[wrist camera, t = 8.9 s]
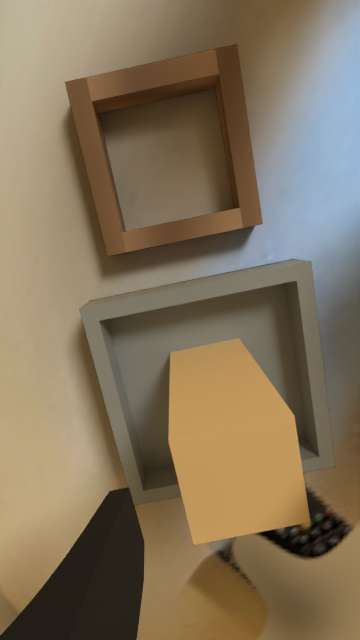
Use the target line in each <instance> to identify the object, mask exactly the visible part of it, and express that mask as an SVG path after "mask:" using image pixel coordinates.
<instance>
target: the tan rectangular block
mask: <svg viewBox="0 0 360 640" xmlns="http://www.w3.org/2000/svg"><path fill="white" fill-rule="evenodd" d="M168 441H169V445H170V450H171V454H172V458H173V462H174V466H175V470H176V474H177V478H178V483H179V487H180V491H181V495H182V499H183V503H184V507H185V511H186V516H187V520H188V524H189V528H190V532H191V536H192V540H193V544H194V545H196V544H201V543H206V542H211V541H216V540H221V539H227V538H232V537H237V536H242V535H247V534H252V533H257V532H263V531H268V530H273V529H278V528H283V527H288V526H293V525H298V524H304V523H309V522H310V516H309V510H308V503H307V496H306V490H305V483H304V476H303V470H302V463H301V456H300V450H299V443H298V436H297V430H296V423H295V416H294V414H293V413H292V411H291V410H290V409H289V407H288V406H287V404H286V403H285V402H284V400H283V399H282V397H281V396H280V395H279V393H278V392H277V390H276V389H275V388H274V386H273V385H272V383H271V382H270V381H269V379H268V378H267V376H266V375H265V374H264V372H263V371H262V369H261V368H260V367H259V365H258V364H257V362H256V361H255V360H254V358H253V357H252V356H251V354H250V353H249V351H248V350H247V349H246V347H245V346H244V344H243V343H242V342H241V340H240V339H239V338H238V339H233V340H228V341H223V342H218V343H214V344H209V345H204V346H199V347H194V348H190V349H185V350H180V351H175V352H170V385H169V436H168Z"/></svg>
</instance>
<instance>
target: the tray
mask: <svg viewBox="0 0 360 640" xmlns="http://www.w3.org/2000/svg"><path fill="white" fill-rule="evenodd" d="M79 310H80V314H81V317H82V321H83V325H84V328H85V332H86V336H87V339H88V343H89V347H90V350H91V354H92V358H93V361H94V365H95V369H96V372H97V376H98V380H99V383H100V387H101V391H102V394H103V398H104V402H105V406H106V409H107V413H108V417H109V420H110V424H111V428H112V431H113V435H114V439H115V442H116V446H117V450H118V453H119V457H120V461H121V464H122V468H123V472H124V475H125V479H126V483H127V487H129V488H130V492H131V496H132V499H133V503H134V505H139V504H144V503H149V502H154V501H159V500H165V499H170V498H175V497H180V496H182V495H181V491H180V487H179V483H178V478H177V474H176V470H175V466H174V462H173V458H172V454H171V450H170V445H169V441H168V436H169V385H170V352H175V351H180V350H185V349H190V348H194V347H199V346H204V345H209V344H214V343H218V342H223V341H228V340H233V339H238V338H239V339H240V340H241V342H242V343H243V344H244V346H245V347H246V349H247V350H248V351H249V353H250V354H251V356H252V357H253V358H254V360H255V361H256V362H257V364H258V365H259V367H260V368H261V369H262V371H263V372H264V374H265V375H266V376H267V378H268V379H269V381H270V382H271V383H272V385H273V386H274V388H275V389H276V390H277V392H278V393H279V395H280V396H281V397H282V399H283V400H284V402H285V403H286V404H287V406H288V407H289V409H290V410H291V411H292V413H293V414H294V416H295V423H296V430H297V436H298V443H299V450H300V456H301V463H302V470H303V473H306V472H311V471H316V470H321V469H327V468H332V467H335V462H334V453H333V444H332V436H331V427H330V419H329V410H328V402H327V393H326V385H325V376H324V368H323V359H322V351H321V342H320V333H319V325H318V316H317V308H316V299H315V291H314V282H313V274H312V265H311V261H306V260H298V259H291V260H286V261H281V262H276V263H271V264H266V265H261V266H257V267H252V268H247V269H242V270H237V271H232V272H227V273H222V274H218V275H213V276H208V277H203V278H198V279H193V280H188V281H183V282H179V283H174V284H169V285H164V286H159V287H154V288H149V289H144V290H140V291H135V292H130V293H125V294H120V295H115V296H110V297H105V298H101V299H96V300H91V301H89V302H88V303H86V304H85V305H84V306H82V307H81V308H79Z"/></svg>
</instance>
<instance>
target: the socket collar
mask: <svg viewBox="0 0 360 640" xmlns="http://www.w3.org/2000/svg"><path fill="white" fill-rule="evenodd" d="M65 84H66V89H67V93H68V97H69V101H70V105H71V109H72V113H73V117H74V121H75V125H76V129H77V133H78V138H79V142H80V146H81V150H82V154H83V158H84V162H85V166H86V170H87V174H88V178H89V182H90V187H91V191H92V195H93V199H94V203H95V207H96V211H97V215H98V219H99V223H100V227H101V231H102V236H103V240H104V244H105V248H106V252H107V256H111V255H116V254H121V253H126V252H131V251H135V250H140V249H145V248H150V247H155V246H160V245H164V244H169V243H174V242H179V241H184V240H188V239H193V238H198V237H203V236H208V235H213V234H217V233H222V232H227V231H232V230H237V229H241V228H246V227H251V226H256V225H260V224H263V223H262V216H261V209H260V202H259V195H258V188H257V181H256V174H255V167H254V160H253V153H252V146H251V139H250V132H249V125H248V119H247V112H246V105H245V98H244V91H243V84H242V77H241V70H240V63H239V56H238V49H237V44H236V45H231V46H227V47H222V48H218V49H213V50H209V51H204V52H199V53H195V54H190V55H186V56H181V57H177V58H172V59H167V60H163V61H158V62H154V63H149V64H145V65H140V66H136V67H131V68H126V69H122V70H117V71H113V72H108V73H104V74H99V75H95V76H90V77H85V78H81V79H76V80H72V81H67V82H65ZM213 88H215V91H216V98H217V104H218V110H219V116H220V123H221V129H222V135H223V141H224V148H225V154H226V160H227V166H228V173H229V179H230V185H231V191H232V198H233V204H234V209H231V210H226V211H221V212H216V213H212V214H207V215H202V216H197V217H193V218H188V219H183V220H178V221H173V222H169V223H164V224H159V225H154V226H149V227H145V228H140V229H135V230H130V231H125V226H124V222H123V218H122V213H121V209H120V205H119V200H118V196H117V192H116V187H115V183H114V178H113V174H112V170H111V165H110V161H109V157H108V152H107V148H106V144H105V139H104V135H103V131H102V126H101V122H100V118H99V113H103V112H107V111H112V110H116V109H121V108H126V107H130V106H135V105H139V104H144V103H149V102H153V101H158V100H162V99H167V98H172V97H176V96H181V95H186V94H190V93H195V92H199V91H204V90H209V89H213Z"/></svg>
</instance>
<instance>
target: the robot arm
mask: <svg viewBox="0 0 360 640" xmlns="http://www.w3.org/2000/svg"><path fill="white" fill-rule="evenodd" d="M143 582H144V539H143V535H142V532H141V528H140V525H139V521H138V517H137V514H136V510H135V506H134V503H133V499H132V496H131V492H130V488H129V487H128V488H123V489H118V490H113V491H110V492H109V493H108V495H107V496H106V497H105V499H104V500H103V502H102V503H101V505H100V506H99V508H98V509H97V511H96V513H95V514H94V516H93V517H92V519H91V520H90V522H89V523H88V525H87V526H86V528H85V529H84V531H83V532H82V534H81V535H80V537H79V538H78V539H77V541H76V542H75V544H74V545H73V547H72V548H71V550H70V551H69V552H68V554H67V555H66V557H65V558H64V559H63V561H62V562H61V563H60V565H59V566H58V567H57V569H56V570H55V571H54V573H53V574H52V575H51V577H50V578H49V579H48V581H47V582H46V583H45V585H44V586H43V587H42V588H41V590H40V591H39V592H38V593H37V595H36V596H35V597H34V598H33V599H32V601H31V602H30V603H29V604H28V605H27V606H26V608H25V609H24V610H23V611H22V612H21V613H20V614H19V616H18V617H17V618H16V619H15V620H14V621H13V622H12V624H11V625H10V626H9V627H8V628H7V629H6V630H5V631H4V632H3V633H2V634H1V635H0V640H136V639H137V631H138V623H139V615H140V607H141V599H142V590H143Z"/></svg>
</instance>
